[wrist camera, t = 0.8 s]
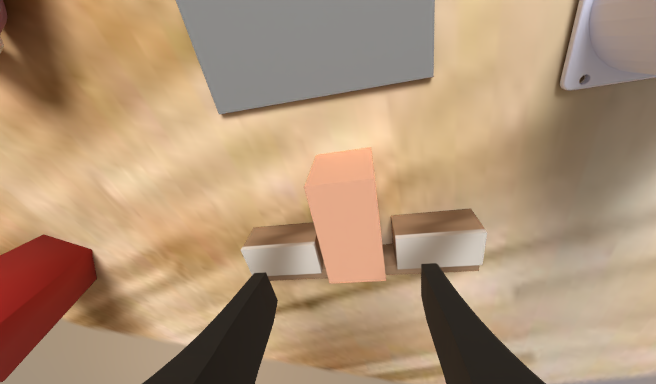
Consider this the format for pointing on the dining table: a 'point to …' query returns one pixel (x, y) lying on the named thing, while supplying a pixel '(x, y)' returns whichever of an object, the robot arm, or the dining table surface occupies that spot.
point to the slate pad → (307, 47)
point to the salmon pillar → (346, 215)
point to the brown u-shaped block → (399, 258)
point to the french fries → (38, 293)
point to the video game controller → (2, 21)
